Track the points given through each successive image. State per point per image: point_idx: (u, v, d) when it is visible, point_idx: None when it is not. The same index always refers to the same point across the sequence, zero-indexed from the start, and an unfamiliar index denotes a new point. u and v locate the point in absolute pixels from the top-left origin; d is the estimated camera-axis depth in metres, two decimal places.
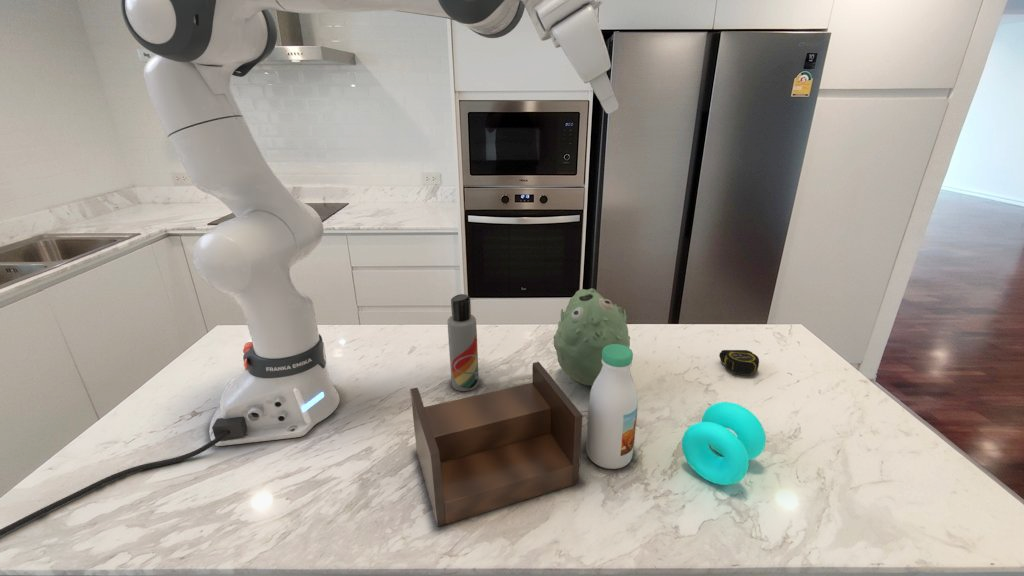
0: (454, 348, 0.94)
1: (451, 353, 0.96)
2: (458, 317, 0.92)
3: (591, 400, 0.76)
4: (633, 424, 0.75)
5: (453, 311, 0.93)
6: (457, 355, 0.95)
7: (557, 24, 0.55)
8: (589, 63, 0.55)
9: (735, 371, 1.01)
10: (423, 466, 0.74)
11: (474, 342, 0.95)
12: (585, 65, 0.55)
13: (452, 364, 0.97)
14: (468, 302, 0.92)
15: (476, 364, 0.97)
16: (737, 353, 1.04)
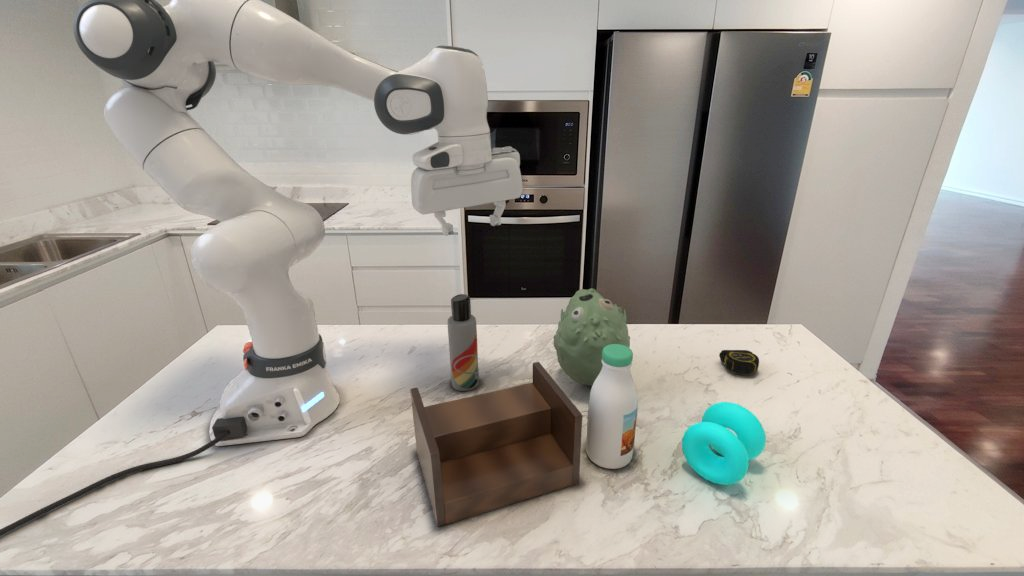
0: (454, 348, 0.94)
1: (451, 353, 0.96)
2: (458, 317, 0.92)
3: (591, 400, 0.76)
4: (633, 424, 0.75)
5: (453, 311, 0.93)
6: (457, 355, 0.95)
7: (417, 168, 0.81)
8: (414, 203, 0.81)
9: (735, 371, 1.01)
10: (423, 466, 0.74)
11: (474, 342, 0.95)
12: (413, 203, 0.81)
13: (452, 364, 0.97)
14: (468, 302, 0.92)
15: (476, 364, 0.97)
16: (737, 353, 1.04)
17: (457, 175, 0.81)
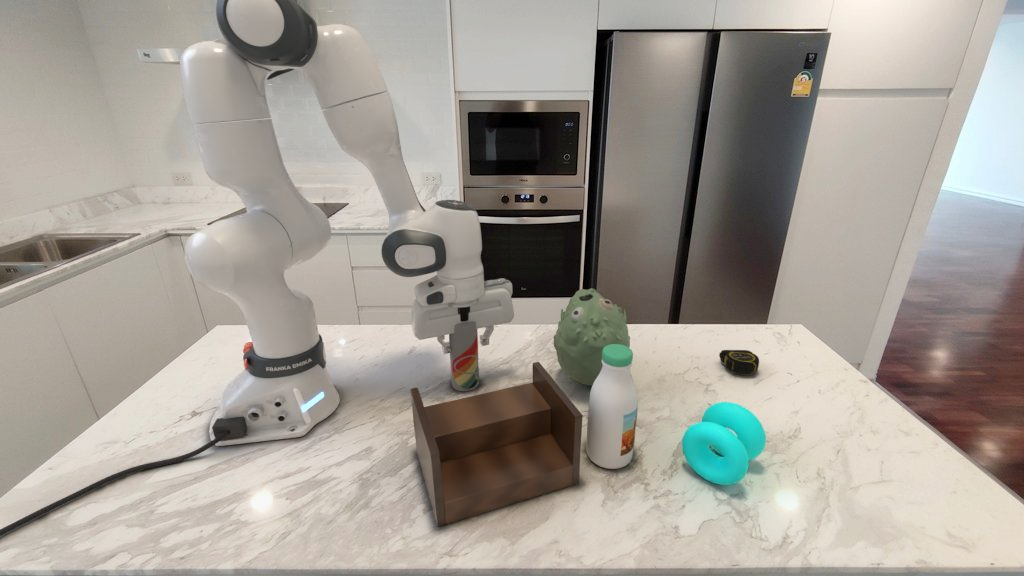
0: (455, 348, 0.94)
1: (452, 353, 0.96)
2: None
3: (591, 400, 0.76)
4: (633, 424, 0.75)
5: None
6: (458, 355, 0.95)
7: None
8: (413, 329, 0.92)
9: (735, 371, 1.01)
10: (423, 466, 0.74)
11: (475, 342, 0.95)
12: (412, 328, 0.92)
13: (452, 364, 0.96)
14: None
15: (476, 364, 0.97)
16: (737, 353, 1.04)
17: (451, 307, 0.91)
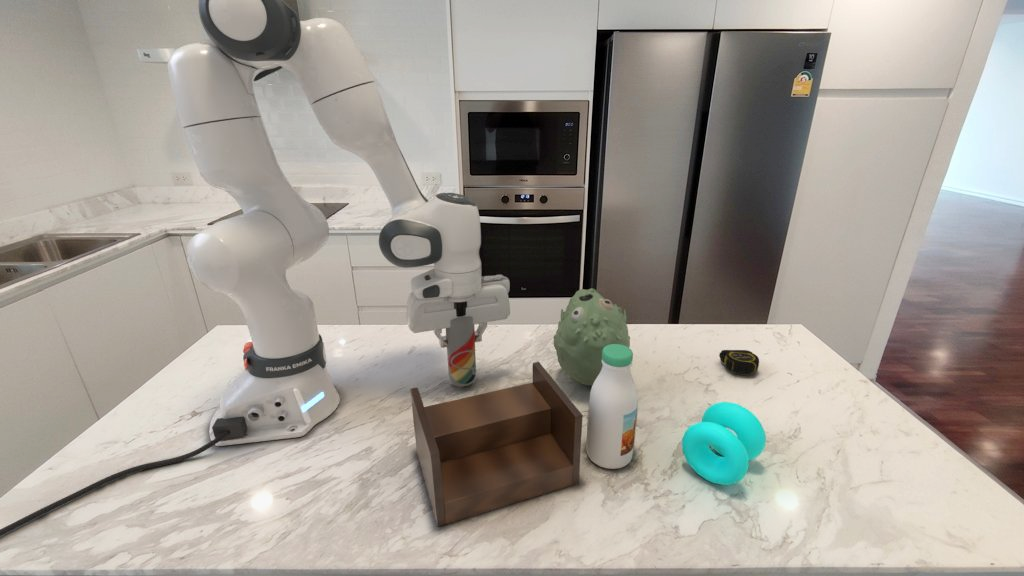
0: (451, 343, 0.94)
1: (448, 348, 0.95)
2: None
3: (591, 400, 0.76)
4: (633, 424, 0.75)
5: None
6: (454, 350, 0.94)
7: None
8: (407, 322, 0.91)
9: (735, 371, 1.01)
10: (423, 466, 0.74)
11: (471, 338, 0.94)
12: (407, 320, 0.91)
13: (449, 359, 0.96)
14: None
15: (473, 360, 0.97)
16: (737, 353, 1.04)
17: (447, 301, 0.90)
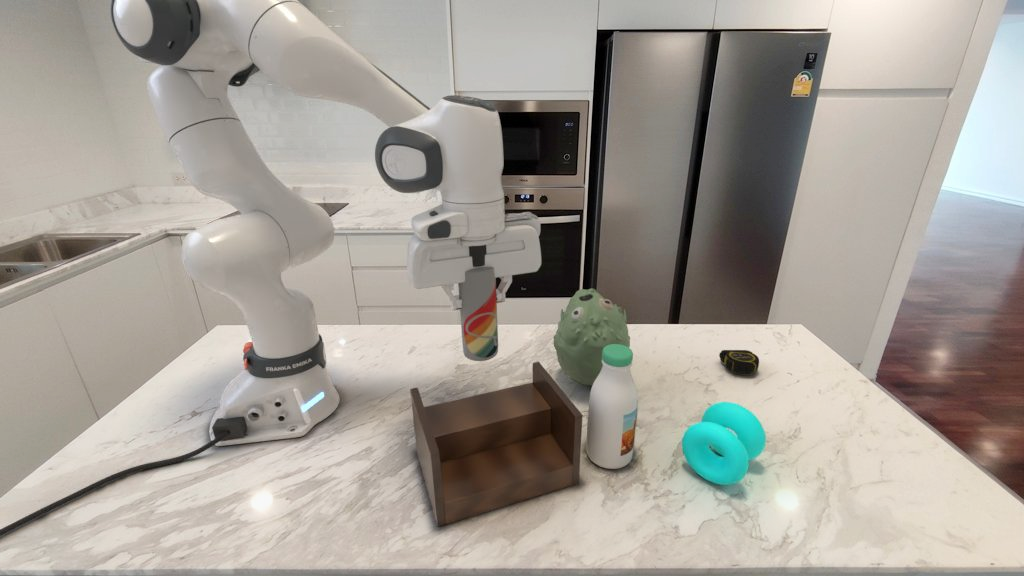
0: (466, 303, 0.71)
1: (462, 311, 0.73)
2: (472, 261, 0.69)
3: (591, 400, 0.76)
4: (633, 424, 0.75)
5: None
6: (470, 313, 0.72)
7: (416, 234, 0.68)
8: (408, 275, 0.69)
9: (735, 371, 1.01)
10: (423, 466, 0.74)
11: (493, 296, 0.72)
12: (408, 273, 0.69)
13: (464, 325, 0.74)
14: None
15: (495, 326, 0.74)
16: (737, 353, 1.04)
17: (461, 246, 0.68)
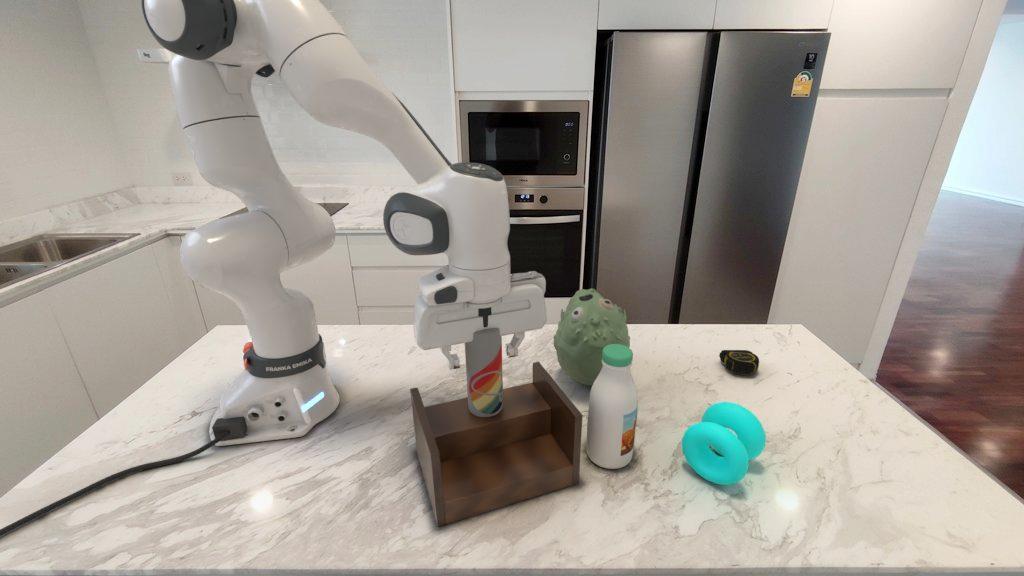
0: (472, 362, 0.72)
1: (468, 369, 0.73)
2: None
3: (591, 400, 0.76)
4: (633, 424, 0.75)
5: None
6: (476, 372, 0.73)
7: None
8: (415, 335, 0.69)
9: (735, 371, 1.01)
10: (423, 466, 0.74)
11: (498, 355, 0.73)
12: (414, 334, 0.70)
13: (470, 383, 0.74)
14: None
15: (500, 383, 0.75)
16: (737, 353, 1.04)
17: (467, 308, 0.68)
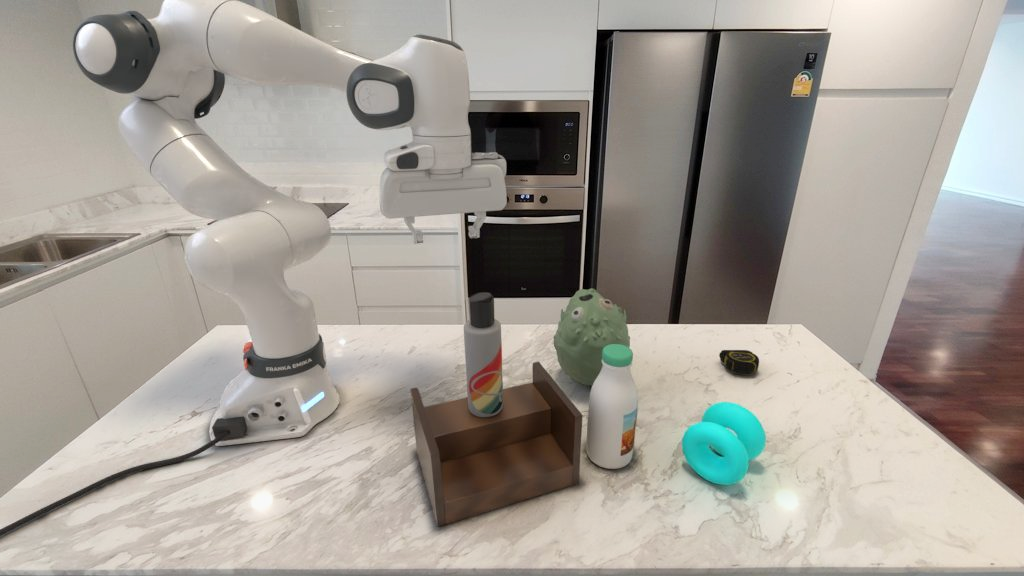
0: (472, 362, 0.72)
1: (468, 369, 0.73)
2: (478, 322, 0.70)
3: (591, 400, 0.76)
4: (633, 424, 0.75)
5: (471, 314, 0.70)
6: (476, 372, 0.73)
7: (388, 167, 0.74)
8: (380, 206, 0.74)
9: (735, 371, 1.01)
10: (423, 466, 0.74)
11: (498, 355, 0.73)
12: (380, 205, 0.74)
13: (469, 383, 0.74)
14: (491, 302, 0.70)
15: (500, 383, 0.75)
16: (737, 353, 1.04)
17: (429, 179, 0.73)
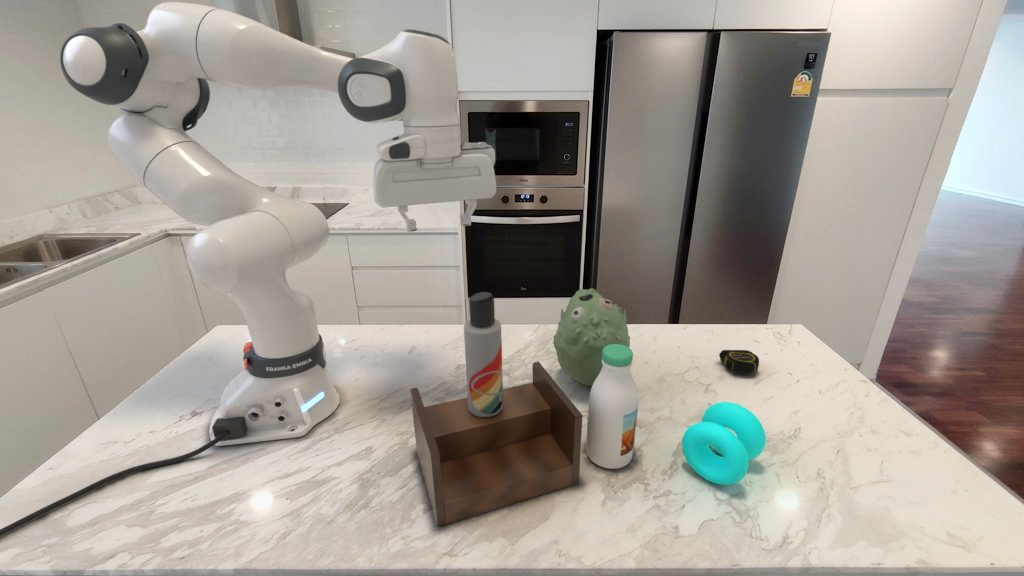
0: (472, 362, 0.72)
1: (468, 368, 0.74)
2: (478, 322, 0.70)
3: (591, 400, 0.76)
4: (633, 424, 0.75)
5: (472, 314, 0.70)
6: (476, 371, 0.73)
7: (381, 158, 0.77)
8: (374, 196, 0.77)
9: (735, 371, 1.01)
10: (423, 466, 0.74)
11: (498, 354, 0.73)
12: (374, 195, 0.77)
13: (469, 382, 0.74)
14: (491, 302, 0.70)
15: (500, 383, 0.75)
16: (737, 353, 1.04)
17: (421, 168, 0.76)
